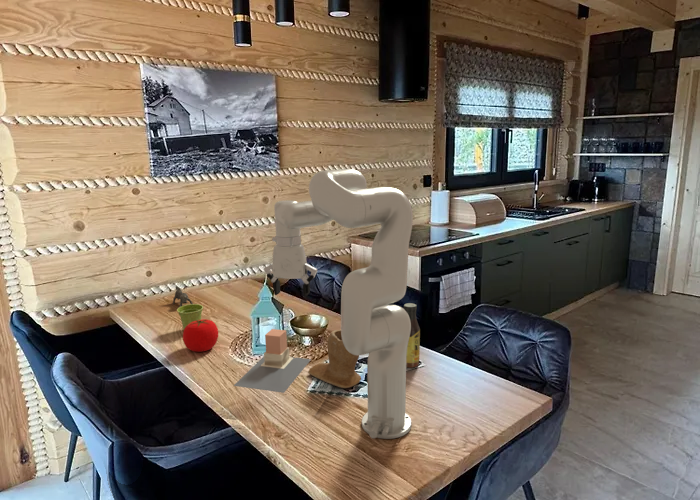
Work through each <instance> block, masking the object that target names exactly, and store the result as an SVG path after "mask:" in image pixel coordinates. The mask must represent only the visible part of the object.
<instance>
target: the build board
mask: <svg viewBox="0 0 700 500" xmlns="http://www.w3.org/2000/svg"><path fill="white" fill-rule="evenodd" d="M289 357H290V359H289V360H288V361H287V362H286V363H285V364H284V365H283V367H278V366H270V365H265V362H264V356H263V357H261V359H260V360H258V361H257V362H256V363H255V364H254V365H253V366H252V367H251V368H250V369H249V370H248V371H247V372H246V373H245V374H244V375H243V376H242V377H241V378H240V379H239V380H238V381H236V383H235V384H233V387H240V388H246V389H247V388H248V389H252V390H253V389H254V390H261V391H268V392H275V393H282V394H283V393H284V394H285V392H286V391H287V390H288V389H289V388H290V386H291V385H292V383H294V382H295V380H296V379H297V378H298V377H299V376H300V374H301V373H302V372H303V370H304V369H305V368H306V367H307V365H308V364H309V363H310V362H311V360H312V359H311V358H304V357H296V358H294V357H295V356H289Z"/></svg>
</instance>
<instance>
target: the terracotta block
mask: <svg viewBox="0 0 700 500" xmlns="http://www.w3.org/2000/svg"><path fill="white" fill-rule="evenodd" d="M287 336H288V335H287V330H284V329H276V328H275V329H274V328H271V329H270V330H269V331H268V332H267V333H266V334H265V335H264V339H265V340H264V341H265V352H266V353H273V354H282V353H283V352H284V351H285V350H286V349H287V347H288V340H287Z"/></svg>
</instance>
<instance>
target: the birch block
mask: <svg viewBox="0 0 700 500" xmlns="http://www.w3.org/2000/svg"><path fill="white" fill-rule="evenodd" d="M263 357H264V362H265V365H270V366H278V367H283V365H284V364H285V363H286V362H287V361H288V360H289V359H290V357H291V356H290V347H288V346H287V349H286V350H285V351H284V352H283V353H282V354H273V353H266V351H264V353H263Z"/></svg>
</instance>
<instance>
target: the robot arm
mask: <svg viewBox="0 0 700 500" xmlns="http://www.w3.org/2000/svg"><path fill="white" fill-rule="evenodd" d="M367 187H368V183H367V180H366V177H365V176H364V175H363V174H362V173H361V172H360V171H358V170H356V169H353V168H343V169H341V168H339V169H326V170H320V171H318V172H316V173H315V174H313V176H312V177H311V179H310V181H309V183H308V193H309V197H310V199H311V200H305V201H299V202H298V201H296V200H292V199H291V200H287V199H286V200H279V201H276V202H275V204H274V205H273V206H274V222H275V223H274V224H275V236H272V238H271V240H272V242H274V243H275V245H273V251H272V263H271V264H269V265H267V266H265V267H264V268H263V270H264V272H265V274H266V277H267V278H268V279H269V280H270V282H271V283H272V290H273V293H274V296H278V294H280V293H281V282H280V279H293V280H294V279H295V280H297V279H298V280H299V279H300V280H301V281H302V282H303V284H302V293H303V296H304V297H307V296H308V295H309V294H310V293H311V281H313V280H314V278H315V277H316V275H317V273H318V268H315V267H314V266H312V265H311V264H309V263H308V262H307V261H308V260H307V255H306V251H305V247H304V244H302V235H301V229H304V228H309V227H317V226H322V225H326V224H327V223H329V222H331V221H334V222H336V223H337V224H338V225H340V226H342V227H344V228H348V229H355V228H362V227H366V226H367V227H368V226H375V225H380V228H379V230H378V231H377V233H376V235H375V236H374V238H373V242H372V243H371V244H372V245H371V258H370V259H371V260H370V264H369V265H368V266H367V267H362V268H358V269H355V270H353V271H351V272H349V273H348V274H347V275H346V276H345V278H344V280H343V283H342V285H341V291H340V293H341V294H340V296H341V297H340V298H341V299H340V330H341V336H342V341H343V344H344V346H345V348H346V349H347V351H348V352H349V353H351V354H353V355H359V356H363V355H368V356H367V363H366V364H367V368H366V369H367V372H366V373H367V379H366V380H367V412H366V413H365V414H364V415H362V417H361V427H362V430H364V432H366V433H367V434H368V435H369V437H370V438H371V439H376V438H378V439H385V440H391V439H396V438H397V439H398V438H401V437H403V436H405V435H406V434H408V433H409V432H410V430H411V428H412V418H411V417H410V416H409V414H408V413H406V407H407V406H406V394H407V393H406V392H407V390H406V389H407V381H406V380H407V379H406V378H407V367H406V355H407V346H408V341H409V337H410V331H411V322H410V318H409V315H408V313H407V312H406V311H405V310H404V307H402V306H399V305H396V304H394V303H397V302H399V301H400V300H402V299H403V298H404V297H405V295H406V292H407V286H408V283H407V282H408V270H409V269H408V268H409V246H410V240H411V235H412V230H413V220H414V215H413V214H414V213H413V207H412V205H411V202H410V200H409V198H408V196H407V195H406V194H405V193H404V192H403V191H401V190H400V189H397V188H396V187H395V188H394V187H389V186H380V187H379V186H378V187H370V188H367ZM271 270H272V271H271ZM308 271H309V272H310V275H308Z"/></svg>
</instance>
